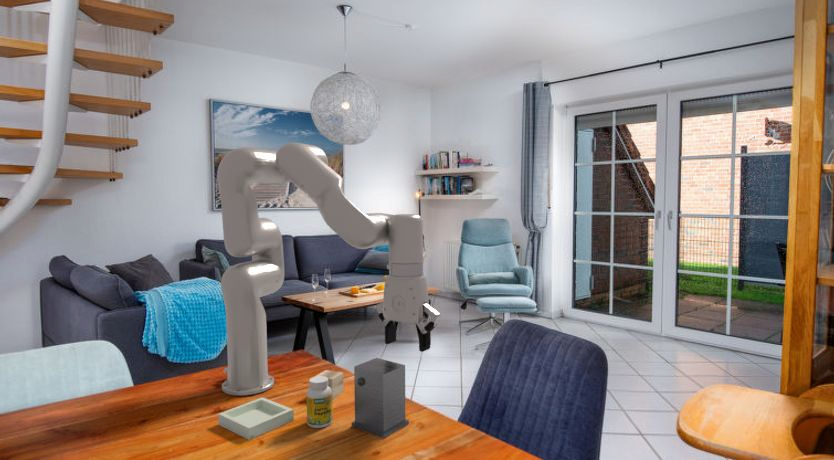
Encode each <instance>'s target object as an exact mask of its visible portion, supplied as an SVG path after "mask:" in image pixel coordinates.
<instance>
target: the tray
mask: <svg viewBox="0 0 834 460" xmlns="http://www.w3.org/2000/svg"><path fill="white" fill-rule="evenodd" d="M217 419H218V426H220V427H222V428H224V429H227V430H228V431H231V432H232V433H234V434H237V435H239V436H240V437H242V438H244V439H246V440H248V441H250V440H253V439H255V438H257V437H260V436H261V435H264V434H266V433H269V432H271V431H272V430H275V429H278V428H280V427H281V426H282V427H283V426H285V425H286V424H288V423H291V422H293V421H294V419H295V415H294V409H293V408H290V407H288V406H286V405H283V404H281V403H278V402H276V401H273V400H270V399H269V398H266V397H262V396H261V397H259V398H256V399H253V400H252V401H249V402H245V403H243V404H240V405H239V406H236V407H233V408H230V409H228V410H225V411H222V412H219V413H218V417H217Z"/></svg>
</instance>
